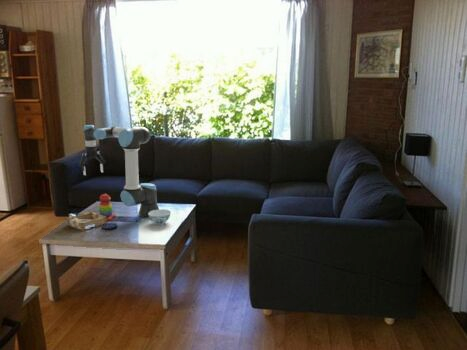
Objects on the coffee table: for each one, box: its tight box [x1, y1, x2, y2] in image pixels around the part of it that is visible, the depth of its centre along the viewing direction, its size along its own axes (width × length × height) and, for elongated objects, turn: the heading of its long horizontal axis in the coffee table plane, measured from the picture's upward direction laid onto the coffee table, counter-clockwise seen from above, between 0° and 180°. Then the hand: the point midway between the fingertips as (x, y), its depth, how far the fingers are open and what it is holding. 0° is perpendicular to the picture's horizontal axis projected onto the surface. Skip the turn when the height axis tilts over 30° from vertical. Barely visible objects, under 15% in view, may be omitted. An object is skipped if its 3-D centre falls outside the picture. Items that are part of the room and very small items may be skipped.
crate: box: [67, 210, 108, 232], centre depth 284 cm, size 18×18×5 cm
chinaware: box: [148, 208, 171, 226], centre depth 284 cm, size 15×15×8 cm
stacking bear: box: [98, 193, 117, 222], centre depth 295 cm, size 11×10×18 cm
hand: (93, 173), depth 316 cm, fingers open, 13 cm apart
